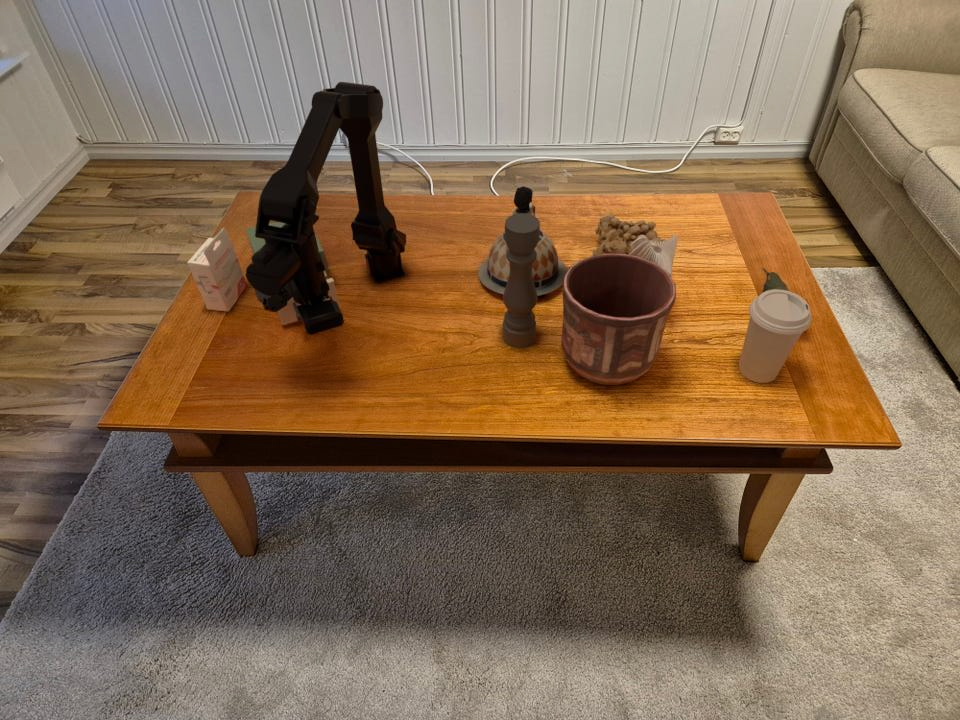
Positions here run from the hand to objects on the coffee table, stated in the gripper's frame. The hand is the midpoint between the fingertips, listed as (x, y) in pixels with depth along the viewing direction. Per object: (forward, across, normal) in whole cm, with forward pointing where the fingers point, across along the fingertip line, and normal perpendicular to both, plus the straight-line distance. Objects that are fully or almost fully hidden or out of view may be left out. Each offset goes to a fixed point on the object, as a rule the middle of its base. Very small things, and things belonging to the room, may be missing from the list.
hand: (320, 328), depth 117 cm
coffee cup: (+7, +37, +68) cm, 78 cm away
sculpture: (+7, +26, +83) cm, 87 cm away
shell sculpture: (+7, +15, +59) cm, 61 cm away
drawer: (+5, -15, 0) cm, 16 cm away
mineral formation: (+7, -1, +66) cm, 66 cm away
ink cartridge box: (+7, -25, -14) cm, 29 cm away
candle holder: (+7, +11, +34) cm, 36 cm away
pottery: (+7, +24, +45) cm, 51 cm away
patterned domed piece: (+7, -5, +43) cm, 44 cm away
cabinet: (+6, -27, 0) cm, 28 cm away
